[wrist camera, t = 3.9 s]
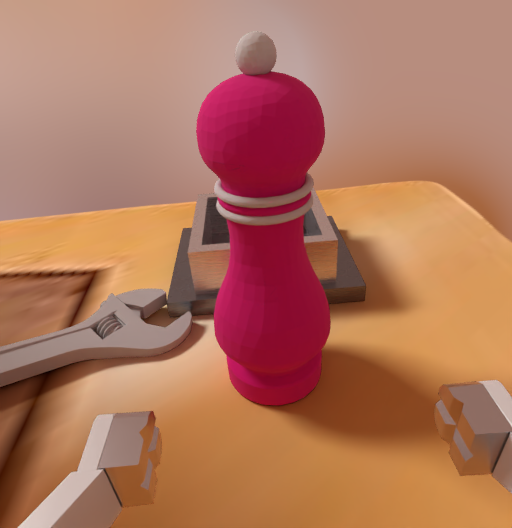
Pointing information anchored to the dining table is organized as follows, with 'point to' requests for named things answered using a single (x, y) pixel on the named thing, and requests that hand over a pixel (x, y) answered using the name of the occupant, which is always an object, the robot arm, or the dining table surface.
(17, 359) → the adjustable wrench
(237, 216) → the pepper mill
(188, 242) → the socket stand
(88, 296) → the dining table surface
